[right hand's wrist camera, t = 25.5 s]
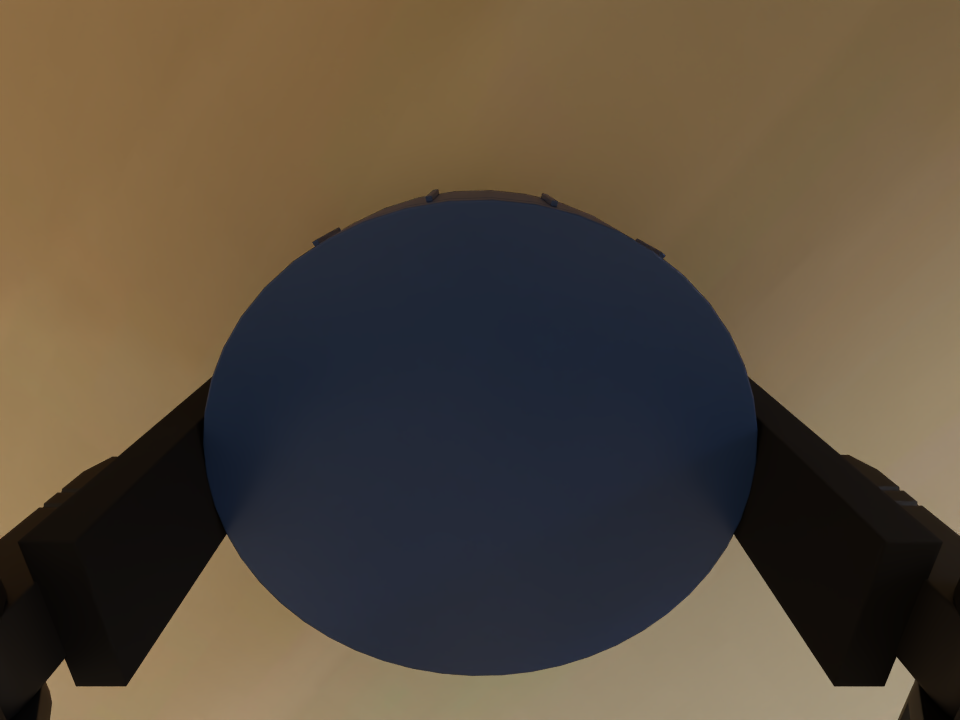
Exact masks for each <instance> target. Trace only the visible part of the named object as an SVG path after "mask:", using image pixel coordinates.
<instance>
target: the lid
mask: <svg viewBox="0 0 960 720" xmlns="http://www.w3.org/2000/svg"><path fill="white" fill-rule="evenodd" d="M312 243H313V244H314V246H315V247H314V248H312V249H311V250H309V251H308V252H306V253H305V254H303V255H302V256H300V257H299V258H297V259H296V260H294V261H293V262H292V263H291V264H290V265H289V266H288V267H286V268H285V269H284V270H283V271H282V272H281V273H280V274H279V275H278V276H277V277H276V278H274V279H273V280H272V281H271V282H270V283H269V284H268V285H267V286H266V287H265V288H264V289H263V290H262V291H261V293H260V294H259V295H258V296H257V298H256V299H255V300H254V301H253V302H252V304H251V305H250V306H249V307H248V309H247V310H246V311H245V312H244V314H243V315H242V316H241V318H240V320H239V321H238V323H237V325H236V326H235V328H234V330H233V332H232V333H231V335H230V337H229V339H228V340H227V342H226V344H225V345H224V347H223V350H222V353H221V355H220V358H219V360H218V363H217V366H216V368H215V371H214V374H213V376H212V379H211V383H210V388H209V393H208V398H207V403H206V407H205V414H204V435H203V448H204V458H205V467H206V474H207V478H208V483H209V487H210V491H211V495H212V499H213V502H214V506H215V508H216V510H217V513H218V515H219V517H220V520H221V522H222V525H223V527H224V529H225V532H226V534H227V535H228V537H229V539H230V540H231V542H232V544H233V545H234V547H235V549H236V551H237V552H238V554H239V556H240V557H241V559H242V560H243V561H244V563H245V564H246V565H247V566H248V568H249V569H250V570H251V572H252V573H253V574H254V575H255V577H256V578H257V579H258V581H259V582H260V583H261V584H262V585H263V586H264V587H265V588H266V589H267V590H268V591H269V592H270V593H271V594H272V595H273V596H274V597H275V598H276V599H277V600H278V601H279V602H280V603H281V604H282V605H284V606H285V607H286V608H288V609H289V610H290V611H291V612H293V613H294V614H295V615H296V616H298V617H299V618H300V619H301V620H303V621H304V622H305V623H307V624H309V625H310V626H312V627H313V628H315V629H317V630H318V631H320V632H321V633H323V634H325V635H326V636H328V637H329V638H331V639H333V640H335V641H337V642H340V643H342V644H344V645H346V646H348V647H350V648H352V649H354V650H356V651H358V652H361V653H364V654H366V655H369V656H372V657H374V658H377V659H380V660H382V661H386V662H389V663H393V664H397V665H401V666H404V667H408V668H412V669H418V670H424V671H430V672H435V673H441V674H454V675H468V676H486V675H508V674H517V673H526V672H533V671H538V670H543V669H547V668H552V667H557V666H561V665H565V664H568V663H571V662H574V661H577V660H581V659H584V658H587V657H590V656H592V655H595V654H597V653H599V652H602V651H604V650H607V649H609V648H611V647H614V646H616V645H618V644H620V643H622V642H623V641H625V640H627V639H629V638H631V637H633V636H634V635H636V634H638V633H640V632H642V631H643V630H645V629H646V628H648V627H649V626H651V625H652V624H653V623H655V622H656V621H658V620H659V619H661V618H662V617H663V616H665V615H666V614H668V613H669V612H670V611H671V610H672V609H673V608H674V607H676V606H677V605H678V604H679V603H680V602H681V601H682V600H684V599H685V598H686V597H687V596H688V595H689V594H690V593H691V592H692V591H693V590H694V589H695V588H696V587H697V585H698V584H699V583H700V582H701V581H702V580H703V579H704V578H705V577H706V575H707V574H708V573H709V572H710V571H711V569H712V568H713V566H714V565H715V564H716V562H717V561H718V559H719V558H720V556H721V555H722V553H723V552H724V551H725V549H726V548H727V546H728V544H729V542H730V540H731V538H732V536H733V534H734V532H735V530H736V528H737V526H738V525H739V523H740V521H741V518H742V515H743V512H744V509H745V506H746V503H747V501H748V498H749V494H750V490H751V486H752V481H753V476H754V471H755V466H756V459H757V433H758V429H757V421H756V412H755V404H754V396H753V393H752V389H751V386H750V382H749V379H748V375H747V372H746V368H745V365H744V363H743V360H742V358H741V356H740V354H739V352H738V350H737V348H736V345H735V343H734V341H733V339H732V337H731V335H730V333H729V331H728V330H727V328H726V327H725V325H724V324H723V322H722V321H721V319H720V318H719V316H718V315H717V313H716V312H715V310H714V309H713V308H712V306H711V305H710V303H709V302H708V301H707V300H706V299H705V298H704V297H703V296H702V294H701V293H700V292H699V291H698V290H697V289H696V288H695V287H694V286H693V285H692V284H691V283H690V282H689V280H688V279H687V278H686V277H685V276H684V275H683V274H681V273H680V272H679V271H678V270H676V269H675V268H674V267H673V266H671V265H670V264H669V263H668V262H666V261H665V260H664V259H663V258H664V257H665V254H663V253H662V252H660V251H659V250H657V249H655V248H653V247H652V246H650V245H648V244H646V243H644V242H643V241H641V240H639V239H636V241H635V240H634V239H632V238H630V237H629V236H627V235H625V234H623V233H622V232H620V231H618V230H617V229H615V228H613V227H611V226H610V225H608V224H606V223H604V222H603V221H601V220H599V219H598V218H596V217H594V216H592V215H590V214H587V213H585V212H582V211H580V210H577V209H575V208H572V207H570V206H567V205H565V204H563V203H560V202H558V201H556V200H555V199H553V198H552V197H550V196H549V195H547V194H544V193H542V196H541V198H540V197H536V196H532V195H528V194H521V193H512V192H502V191H493V190H481V191H453V192H447V193H442V194H439V190H438V189H437V190H433V191H432V192H430V193H429V194H428V195H427V196H424V197H418V198H415V199H412V200H409V201H406V202H403V203H400V204H396V205H393V206H390V207H387V208H384V209H382V210H380V211H378V212H376V213H374V214H372V215H370V216H368V217H366V218H363V219H361V220H359V221H357V222H355V223H353V224H352V225H350V226H348V227H346V228H345V229H343V230H340V228H337V229H335V230H333V231H331V232H329V233H328V234H326V235H324V236H322V237H320V238H318V239H317V240H315V241H314V242H312Z"/></svg>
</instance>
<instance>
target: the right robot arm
mask: <svg viewBox="0 0 960 720" xmlns="http://www.w3.org/2000/svg"><path fill="white" fill-rule="evenodd" d="M211 379H212V377H211V378H210V379H209V380H208V381H207V382H205V383H204V384H203V385H202V386H201V387H200V388H198V389H197V390H196V391H195V392H194V393H193V394H191V395H190V396H189V397H188V398H187V399H185V400H184V401H183V402H182V403H181V404H180V405H178V406H177V407H176V408H175V409H174V410H172V411H171V412H170V413H169V414H168V415H167V416H165V417H164V418H163V419H162V420H161V421H159V422H158V423H157V424H156V425H155V426H154V427H152V428H151V429H150V430H149V431H148V432H146V433H145V434H144V435H143V436H142V437H141V438H139V439H138V440H137V441H136V442H135V443H134V444H132V445H131V446H130V447H129V448H128V449H126V450H125V451H124V452H123V453H122V454H121V455H119V456H118V457H111V458H109V459H107V460H105V461H103V462H101V463H99V464H97V465H95V466H93V467H91V468H90V469H88V470H86V471H84V472H82V473H81V474H80V475H79V476H77V477H76V478H75V479H74V480H73V481H71V482H70V483H69V484H68V485H66V486H65V487H64V488H63V489H62V492H61V493H57V494H55V495H54V496H53V497H52V498H50V499H49V500H48V501H47V502H45V503H44V507H43V508H38V509H37V510H36V511H34V512H33V513H32V514H31V515H29V516H28V517H27V518H26V519H25V520H23V521H22V522H21V523H20V524H18V525H17V526H16V527H15V528H13V529H12V530H11V531H10V532H8V533H7V534H6V535H5V536H4V537H2V538H1V539H0V720H50V714H51V707H52V700H51V695H50V691H49V688H48V686H47V684H46V681H47V679H48V678H49V677H50V676H51V675H52V673H53V672H54V671H55V670H56V668H57V667H58V666H59V665H60V664H61V662H62V661H63V660H64V659H65V660H66V663H67V665H68V668H69V670H70V673H71V675H72V677H73V680H74V682H75V685H76V686H127V684H128V683H129V681H130V680H131V678H132V677H133V675H134V674H135V672H136V671H137V669H138V668H139V666H140V665H141V663H142V661H143V660H144V658H145V657H146V655H147V654H148V652H149V651H150V649H151V648H152V646H153V645H154V643H155V642H156V640H157V639H158V637H159V636H160V634H161V633H162V631H163V630H164V628H165V627H166V625H167V624H168V622H169V621H170V619H171V618H172V616H173V614H174V613H175V611H176V610H177V608H178V607H179V605H180V604H181V602H182V601H183V599H184V598H185V596H186V595H187V593H188V592H189V590H190V589H191V587H192V586H193V584H194V583H195V581H196V580H197V578H198V577H199V575H200V574H201V572H202V571H203V569H204V567H205V566H206V564H207V563H208V561H209V560H210V558H211V557H212V555H213V554H214V552H215V551H216V549H217V548H218V546H219V545H220V543H221V542H222V540H223V539H224V537H225V536H226V532H225V529H224V527H223V525H222V522H221V520H220V517H219V515H218V513H217V510H216V508H215V506H214V502H213V499H212V495H211V491H210V487H209V483H208V478H207V474H206V467H205V458H204V448H203V435H204V414H205V407H206V403H207V398H208V393H209V388H210V383H211ZM748 379H749V382H750V386H751V389H752V393H753V396H754V404H755V412H756V421H757V429H758V433H757V459H756V466H755V471H754V476H753V481H752V486H751V490H750V494H749V498H748V501H747V503H746V506H745V509H744V512H743V515H742V518H741V521H740V523H739V525H738V526H737V528H736V530H735V532H734V535H735V537H736V538H737V540H738V541H739V543H740V544H741V546H742V547H743V549H744V550H745V552H746V553H747V555H748V556H749V558H750V559H751V561H752V562H753V564H754V565H755V567H756V568H757V570H758V571H759V573H760V575H761V576H762V578H763V579H764V581H765V582H766V584H767V585H768V587H769V588H770V590H771V591H772V593H773V594H774V596H775V597H776V599H777V600H778V602H779V603H780V605H781V606H782V608H783V609H784V611H785V612H786V614H787V615H788V617H789V618H790V620H791V622H792V623H793V625H794V626H795V628H796V629H797V631H798V632H799V634H800V635H801V637H802V638H803V640H804V641H805V643H806V644H807V646H808V647H809V649H810V650H811V652H812V653H813V655H814V656H815V658H816V659H817V661H818V662H819V664H820V665H821V667H822V669H823V670H824V672H825V673H826V675H827V676H828V678H829V679H830V681H831V682H832V684H833V685H834V686H885V684H886V681H887V679H888V676H889V674H890V671H891V669H892V666H893V664H894V662H895V659H896V657H897V658H898V659H899V660H900V661H901V663H902V664H903V665H904V666H905V667H906V669H907V670H908V671H909V672H910V673H911V675H912V676H913V677H914V678H915V682H914V684H913V686H912V688H911V691H910V693H909V695H908V698H907V700H906V702H905V705H904V707H903V709H902V711H901V714H900V716H899V718H898V720H960V536H959V535H958V534H957V533H955V532H954V531H953V530H952V529H950V528H949V527H948V526H947V525H945V524H944V523H943V522H942V521H941V520H939V519H938V518H937V517H936V516H934V515H933V514H932V513H931V512H929V511H928V510H927V509H926V508H924V507H923V506H918V504H917V501H916V500H914V499H913V498H912V497H911V496H909V495H908V494H907V493H906V492H905V491H900V490H899V487H898V486H897V485H896V484H895V483H893V482H892V481H891V480H890V479H888V478H887V477H886V476H885V475H883V474H882V473H881V472H880V471H878V470H877V469H875V468H873V467H871V466H869V465H867V464H865V463H863V462H861V461H859V460H857V459H856V458H854V457H852V456H850V455H840V454H839V453H838V452H836V451H835V450H834V449H833V448H832V447H830V446H829V445H828V444H827V443H826V442H825V441H823V440H822V439H821V438H820V437H819V436H817V435H816V434H815V433H814V432H813V431H812V430H810V429H809V428H808V427H807V426H806V425H804V424H803V423H802V422H801V421H800V420H799V419H797V418H796V417H795V416H794V415H793V414H791V413H790V412H789V411H788V410H787V409H786V408H784V407H783V406H782V405H781V404H780V403H779V402H777V401H776V400H775V399H774V398H773V397H771V396H770V395H769V394H768V393H767V392H766V391H764V390H763V389H762V388H761V387H760V386H758V385H757V384H756V383H755V382H754V381H753V380H751V379H750V378H749V377H748Z"/></svg>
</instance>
